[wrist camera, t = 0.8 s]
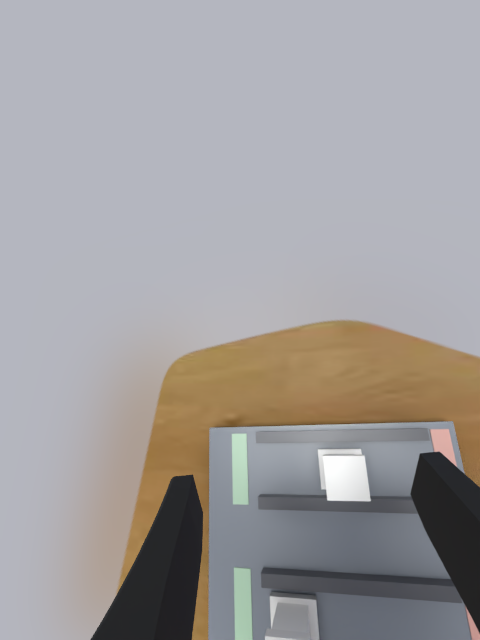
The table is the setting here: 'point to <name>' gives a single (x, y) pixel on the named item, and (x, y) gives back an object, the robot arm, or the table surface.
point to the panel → (327, 534)
